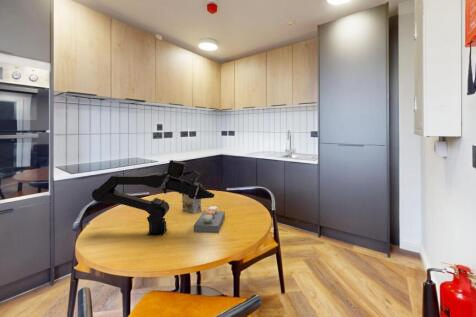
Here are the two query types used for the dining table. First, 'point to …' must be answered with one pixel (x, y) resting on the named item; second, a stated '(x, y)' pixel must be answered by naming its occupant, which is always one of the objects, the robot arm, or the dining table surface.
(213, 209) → the button offwhite
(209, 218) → the button sage
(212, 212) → the button terracotta
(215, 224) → the button panel
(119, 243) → the dining table surface
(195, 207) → the coffee box
